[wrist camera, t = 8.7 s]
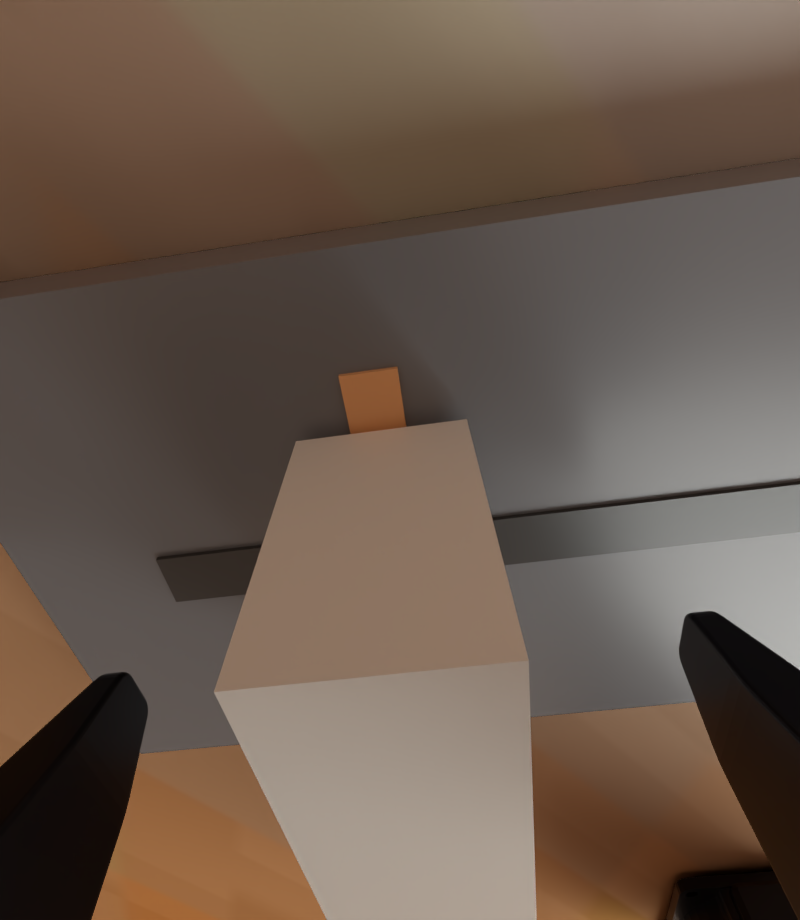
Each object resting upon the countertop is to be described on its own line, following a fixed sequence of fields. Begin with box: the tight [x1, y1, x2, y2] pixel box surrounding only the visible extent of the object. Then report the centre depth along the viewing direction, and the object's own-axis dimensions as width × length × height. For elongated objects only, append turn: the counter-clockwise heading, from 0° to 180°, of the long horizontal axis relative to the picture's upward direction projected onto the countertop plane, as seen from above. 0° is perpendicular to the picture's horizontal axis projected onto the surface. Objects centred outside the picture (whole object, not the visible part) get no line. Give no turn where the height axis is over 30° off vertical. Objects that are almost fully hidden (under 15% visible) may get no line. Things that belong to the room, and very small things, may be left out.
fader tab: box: [214, 419, 537, 920], centre depth 9 cm, size 6×3×5 cm, turn 8°
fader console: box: [0, 158, 800, 754], centre depth 12 cm, size 12×30×2 cm, turn 98°
